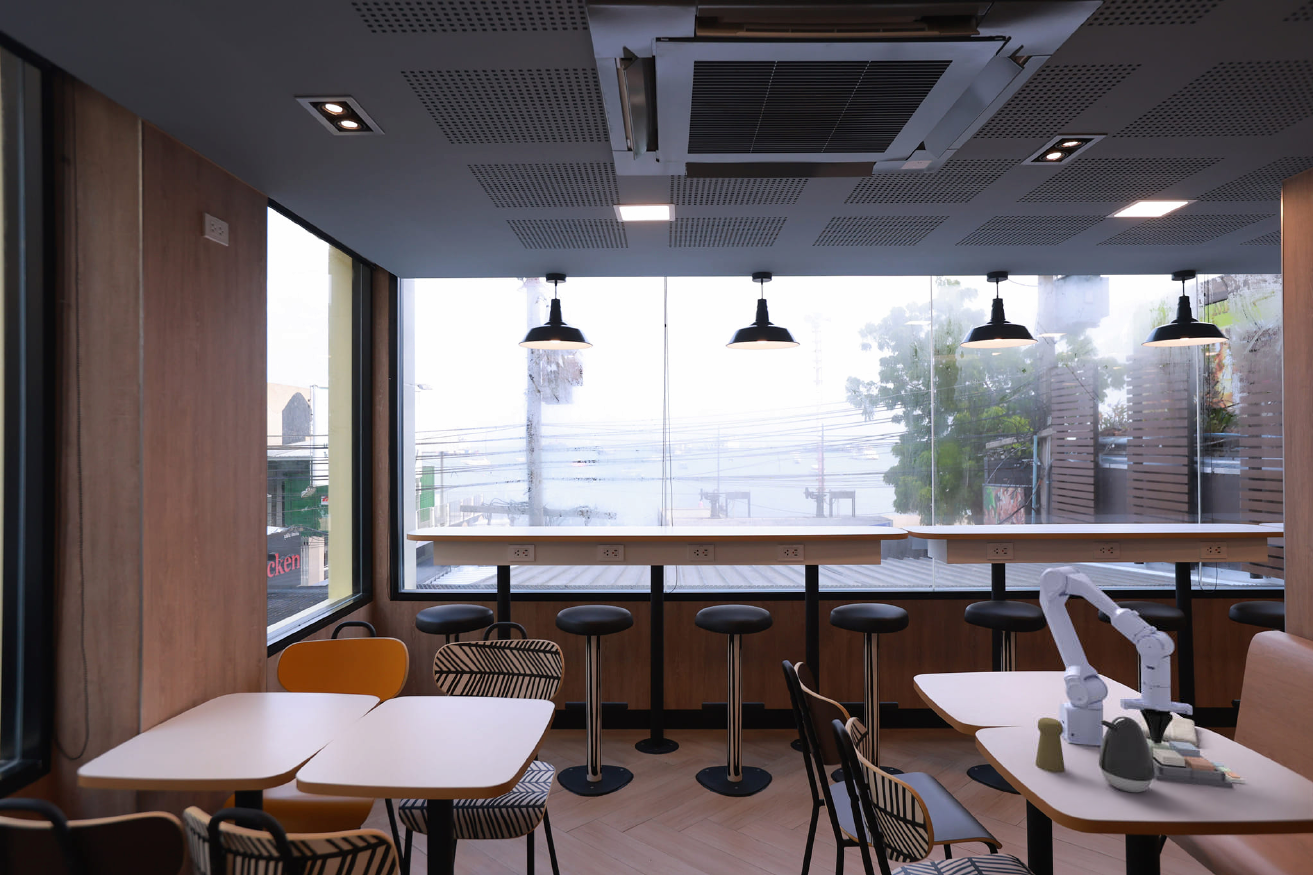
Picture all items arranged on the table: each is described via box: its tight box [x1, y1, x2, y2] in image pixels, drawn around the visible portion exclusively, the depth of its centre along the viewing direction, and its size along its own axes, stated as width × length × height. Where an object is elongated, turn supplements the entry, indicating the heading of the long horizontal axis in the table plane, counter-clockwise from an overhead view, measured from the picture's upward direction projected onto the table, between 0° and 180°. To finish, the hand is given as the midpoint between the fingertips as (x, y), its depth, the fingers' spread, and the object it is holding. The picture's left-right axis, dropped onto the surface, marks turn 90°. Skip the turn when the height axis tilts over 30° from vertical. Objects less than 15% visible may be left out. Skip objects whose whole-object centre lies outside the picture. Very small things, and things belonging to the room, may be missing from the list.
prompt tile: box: [1210, 761, 1244, 784], centre depth 162 cm, size 2×9×1 cm, turn 168°
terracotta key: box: [1182, 756, 1215, 771], centre depth 160 cm, size 4×4×2 cm
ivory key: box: [1153, 749, 1185, 766], centre depth 162 cm, size 4×4×2 cm
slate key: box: [1168, 741, 1201, 758], centre depth 166 cm, size 4×4×2 cm
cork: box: [1035, 717, 1066, 774], centre depth 164 cm, size 6×6×11 cm
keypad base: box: [1152, 754, 1234, 789], centre depth 164 cm, size 15×15×3 cm
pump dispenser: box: [1098, 715, 1155, 793], centre depth 154 cm, size 10×10×15 cm
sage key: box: [1146, 738, 1171, 754], centre depth 167 cm, size 4×4×2 cm
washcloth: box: [1141, 714, 1198, 748], centre depth 187 cm, size 12×18×3 cm, turn 146°
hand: (1156, 741), depth 167 cm, fingers closed
